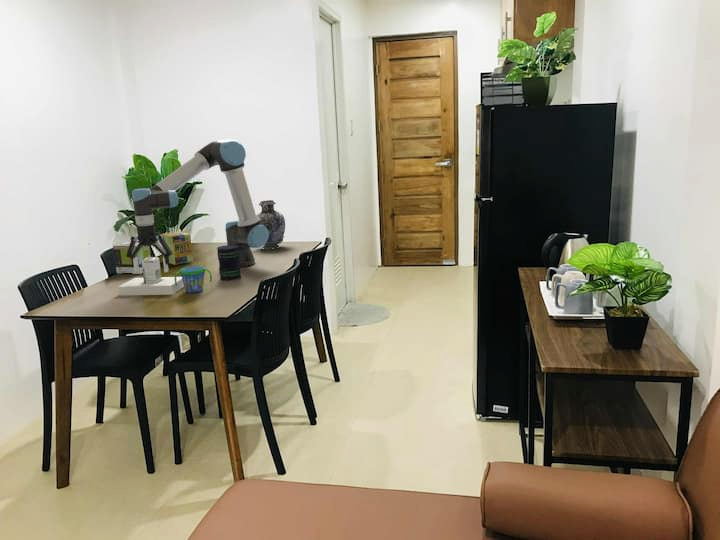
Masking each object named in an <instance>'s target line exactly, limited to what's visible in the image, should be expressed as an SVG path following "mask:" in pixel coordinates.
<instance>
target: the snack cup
mask: <svg viewBox="0 0 720 540" xmlns="http://www.w3.org/2000/svg"><path fill="white" fill-rule="evenodd" d="M206 271H207V272H208V274H209V276H210V277H209V282H210V283H212V282H213V279H212V278H213V277H212V276H213V275H212V273H211V271H210V270H209V269H207V268H206V267H204V266H202V265H201V266H200V265H199V266H198V265H197V266H196V265H195V266H185V267H182V268H180V269H179V270H178V271H176V273H175V275H174V277H175V284H176V286H177V283H176V277H177V275H179V274H180V276H181V277H182V280H183V284H184V287H183V288H184V290H185V292H186V293H190V294H192V293H193V294H194V293H200V292H202V291H203V290H204V284H205V283H204V279H205V273H206Z"/></svg>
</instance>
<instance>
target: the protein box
mask: <svg viewBox="0 0 720 540" xmlns="http://www.w3.org/2000/svg"><path fill="white" fill-rule="evenodd" d="M160 235H163V237H164V240H165V242H166V243H167V245H168V246H169V248H170V250H171V251H172V253H173V254H172V255H171V256H169V264H170V265H174V266H177V265H178V264H179V265H184V264H188V263H189V264H190V263H193V262H194V256H193V247H192V239H191V233H187V232H184V231H183V232H182V231H171V232H165V233H160ZM161 247H162V248H163V246H162V245H161ZM163 249H164V248H163ZM163 257H164V256H163V255H162V258H163ZM183 263H184V264H183Z"/></svg>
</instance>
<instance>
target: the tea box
mask: <svg viewBox="0 0 720 540" xmlns="http://www.w3.org/2000/svg"><path fill="white" fill-rule="evenodd" d="M130 243H131V242H129V241H128V242H127V241H126V242H123V243H118V244H114V245H112V248H113V255H114V262H115V269H116V274H122V273H132V274H131V275H142V273H143V268H142V260H144V259H146V258H149V257H152V255H151V246H142V248H141V249H140V251H139V252H138V254H137V255H136V257H137V259H138V266H139V272H138V273H135V270H134V265H133V266H132V262H131V258H129V257H126V255H127V252H128V249H129V246H130ZM138 244H139V242H136V243H135V246H134V249H133V252H134V250H135V249H136V247H137V246H138ZM133 252H132V253H133ZM136 257H135V258H136Z"/></svg>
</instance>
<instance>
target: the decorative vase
mask: <svg viewBox="0 0 720 540" xmlns="http://www.w3.org/2000/svg"><path fill="white" fill-rule="evenodd" d="M275 205H276V202H275V201H274V200H272V199H268V200H262V201H260V202H259V203H258V206H260V207H261V212H258V213H257V214H256V216H257V217H259V218H260V220H261V223H262V225H263V226H265V227H266V228H267V229H268V232H269V237H268V240H267V242H266V244H265V245H264V246H262V247H261V248H264V249H272V248H278V247H279V246H280V244H281V243H283V242H284V238H285V232H286V220H285V217H284V215H283V214H282V213H281V212H279V211H276V210H275ZM264 249H263V250H264Z"/></svg>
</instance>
